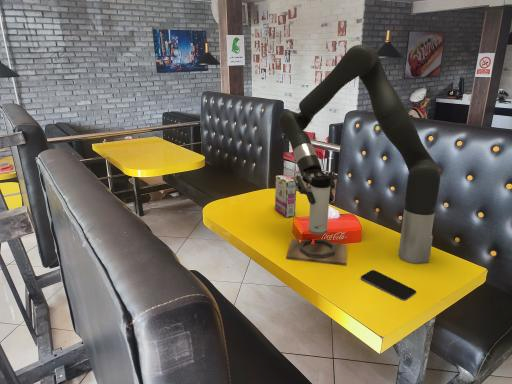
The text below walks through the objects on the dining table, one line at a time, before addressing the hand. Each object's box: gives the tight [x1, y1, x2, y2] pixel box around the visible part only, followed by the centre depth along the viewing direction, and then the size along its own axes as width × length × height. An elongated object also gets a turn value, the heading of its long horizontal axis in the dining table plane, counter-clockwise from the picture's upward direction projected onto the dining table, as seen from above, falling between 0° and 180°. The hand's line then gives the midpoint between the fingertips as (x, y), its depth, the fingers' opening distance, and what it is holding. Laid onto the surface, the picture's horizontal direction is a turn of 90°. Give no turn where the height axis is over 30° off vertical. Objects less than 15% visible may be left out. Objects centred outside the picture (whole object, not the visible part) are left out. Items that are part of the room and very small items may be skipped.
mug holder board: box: [285, 238, 348, 266], centre depth 129 cm, size 20×14×2 cm
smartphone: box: [360, 269, 417, 301], centre depth 110 cm, size 7×1×15 cm
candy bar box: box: [274, 174, 297, 219], centre depth 163 cm, size 11×5×16 cm, turn 23°
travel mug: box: [308, 176, 331, 236], centre depth 124 cm, size 6×7×20 cm
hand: (322, 202), depth 122 cm, fingers closed on travel mug, 6 cm apart
